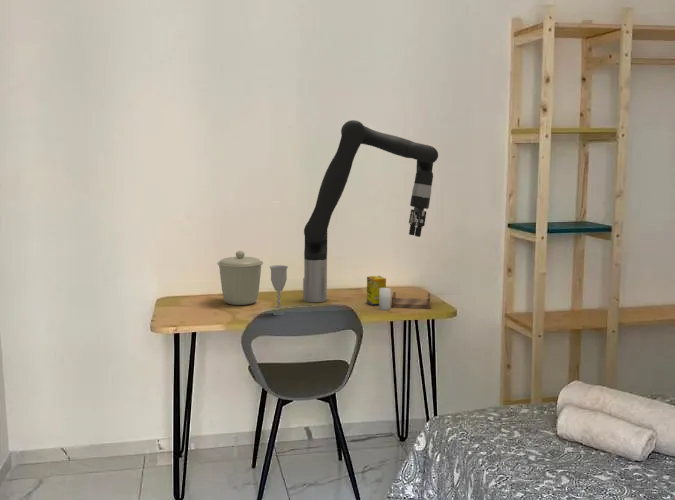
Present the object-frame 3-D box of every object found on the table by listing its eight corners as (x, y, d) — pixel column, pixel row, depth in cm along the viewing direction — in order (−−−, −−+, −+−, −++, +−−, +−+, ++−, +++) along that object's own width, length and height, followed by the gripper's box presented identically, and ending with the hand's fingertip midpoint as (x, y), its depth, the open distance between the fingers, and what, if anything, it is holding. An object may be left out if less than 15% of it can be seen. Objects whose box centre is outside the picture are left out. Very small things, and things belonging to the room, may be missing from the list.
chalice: (290, 315, 284) (290, 267, 281) (273, 316, 281) (272, 268, 279) (284, 311, 290) (284, 264, 288) (267, 312, 288) (267, 265, 285)
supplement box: (366, 303, 306) (366, 276, 304) (379, 302, 308) (380, 275, 306) (372, 306, 300) (372, 279, 299) (385, 305, 303) (386, 278, 301)
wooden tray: (391, 307, 298) (391, 297, 298) (392, 301, 309) (393, 292, 308) (430, 308, 296) (430, 298, 296) (430, 302, 307) (430, 293, 307)
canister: (260, 297, 315) (260, 247, 312) (265, 306, 298) (265, 253, 295) (216, 298, 312) (215, 248, 309) (219, 308, 294) (218, 254, 291)
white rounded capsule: (378, 309, 294) (379, 289, 293) (379, 307, 298) (379, 287, 297) (390, 310, 294) (390, 289, 292) (390, 307, 298) (391, 287, 297)
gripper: (407, 194, 311) (400, 233, 312) (417, 194, 297) (410, 235, 298) (424, 197, 312) (418, 236, 313) (435, 197, 299) (428, 238, 299)
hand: (414, 235), depth 306 cm, fingers open, 8 cm apart
